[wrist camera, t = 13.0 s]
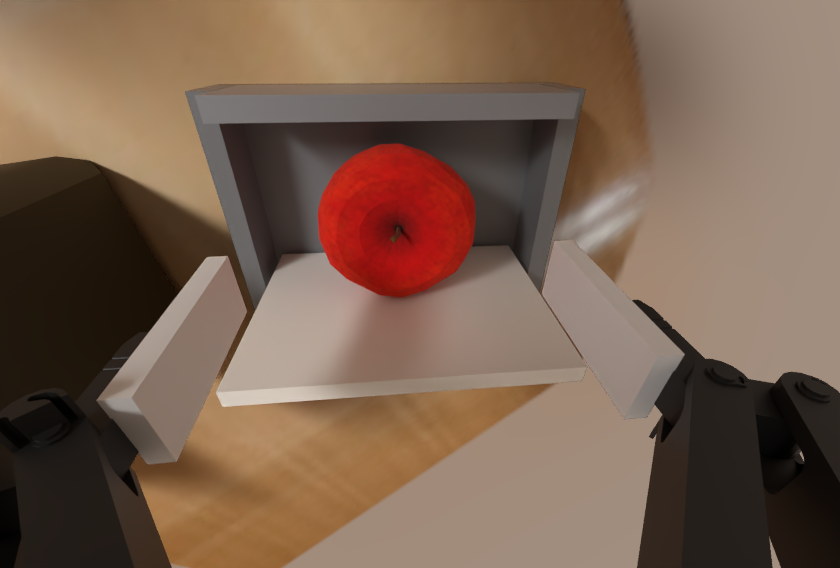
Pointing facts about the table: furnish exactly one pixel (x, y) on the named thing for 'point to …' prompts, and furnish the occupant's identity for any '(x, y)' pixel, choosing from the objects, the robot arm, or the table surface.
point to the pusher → (397, 335)
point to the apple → (396, 220)
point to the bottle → (68, 277)
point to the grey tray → (373, 125)
